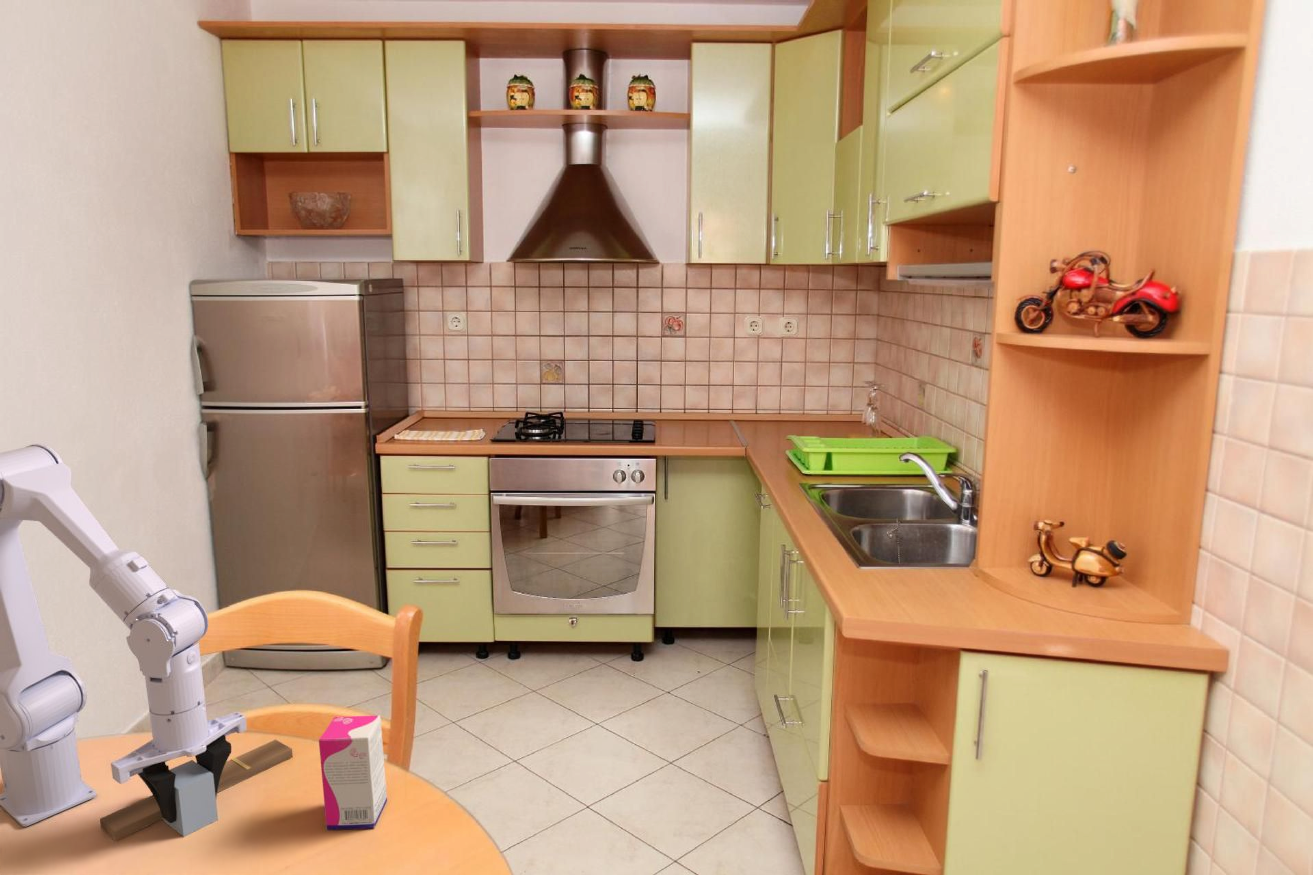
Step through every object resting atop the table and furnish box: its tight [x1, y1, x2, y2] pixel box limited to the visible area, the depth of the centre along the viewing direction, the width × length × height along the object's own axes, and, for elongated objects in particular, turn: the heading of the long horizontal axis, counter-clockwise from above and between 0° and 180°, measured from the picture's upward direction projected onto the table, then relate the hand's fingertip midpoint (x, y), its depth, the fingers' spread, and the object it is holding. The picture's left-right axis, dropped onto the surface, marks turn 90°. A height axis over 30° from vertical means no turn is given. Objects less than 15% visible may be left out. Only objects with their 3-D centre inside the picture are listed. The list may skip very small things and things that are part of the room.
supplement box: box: [318, 715, 388, 831], centre depth 106 cm, size 6×6×12 cm
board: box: [99, 739, 293, 842], centre depth 112 cm, size 4×22×1 cm, turn 143°
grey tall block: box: [162, 759, 219, 837], centre depth 107 cm, size 10×4×6 cm, turn 53°
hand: (189, 809), depth 106 cm, fingers open, 4 cm apart
